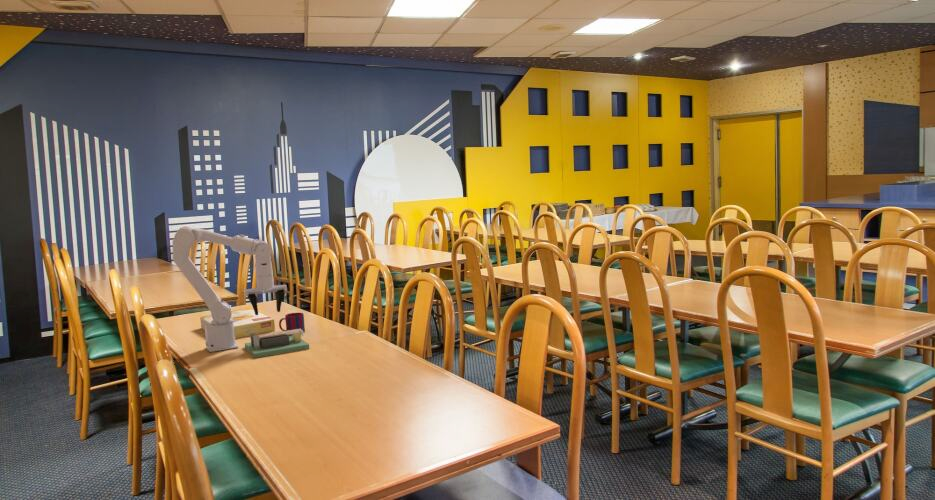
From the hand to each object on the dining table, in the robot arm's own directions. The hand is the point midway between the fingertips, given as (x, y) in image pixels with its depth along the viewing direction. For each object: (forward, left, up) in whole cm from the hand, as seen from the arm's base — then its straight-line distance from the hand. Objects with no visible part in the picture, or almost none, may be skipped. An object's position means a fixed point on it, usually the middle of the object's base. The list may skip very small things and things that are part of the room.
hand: (267, 313), depth 231 cm
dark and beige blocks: (0, -11, -9) cm, 14 cm away
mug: (+10, +8, -11) cm, 17 cm away
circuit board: (0, -11, -10) cm, 15 cm away
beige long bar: (+1, -11, -7) cm, 13 cm away
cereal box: (-6, +28, -11) cm, 31 cm away
